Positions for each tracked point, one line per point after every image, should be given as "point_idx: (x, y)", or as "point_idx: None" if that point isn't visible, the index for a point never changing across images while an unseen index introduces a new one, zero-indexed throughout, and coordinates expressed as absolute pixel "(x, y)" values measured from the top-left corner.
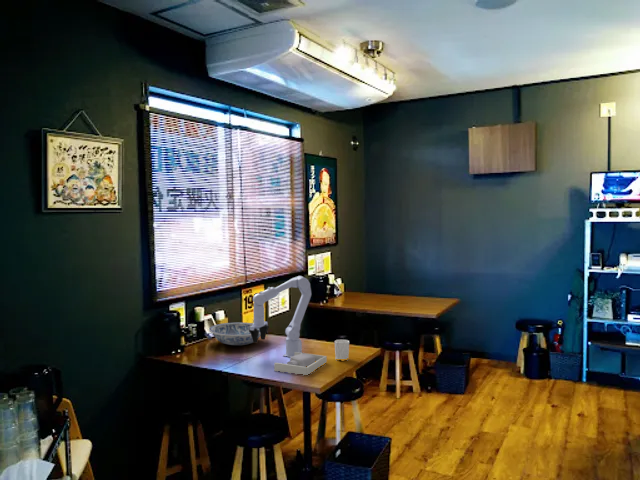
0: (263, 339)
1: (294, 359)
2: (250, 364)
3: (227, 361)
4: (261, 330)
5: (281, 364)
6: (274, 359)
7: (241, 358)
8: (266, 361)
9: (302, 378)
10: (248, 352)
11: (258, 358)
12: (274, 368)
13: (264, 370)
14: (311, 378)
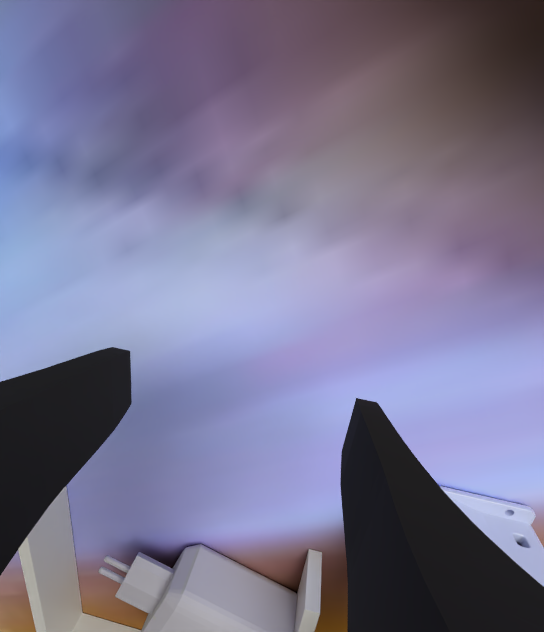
0: (345, 440)
1: (154, 611)
2: (88, 300)
3: (54, 17)
4: (381, 582)
5: (24, 562)
6: (278, 431)
7: (208, 124)
8: (207, 390)
9: None
10: (479, 74)
11: (264, 300)
12: None
13: None
14: None
